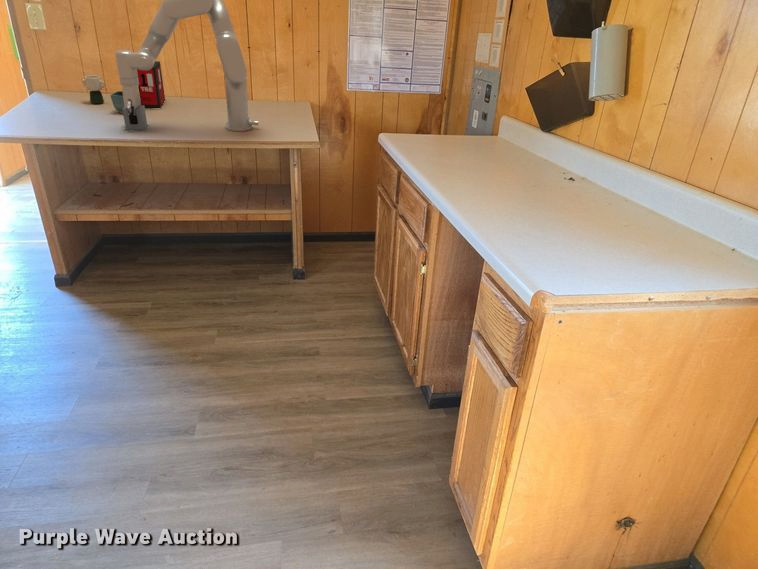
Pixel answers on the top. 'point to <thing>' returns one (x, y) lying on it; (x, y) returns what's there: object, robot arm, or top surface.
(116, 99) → the flower pot
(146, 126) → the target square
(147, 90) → the cleaning product box
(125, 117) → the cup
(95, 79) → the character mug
